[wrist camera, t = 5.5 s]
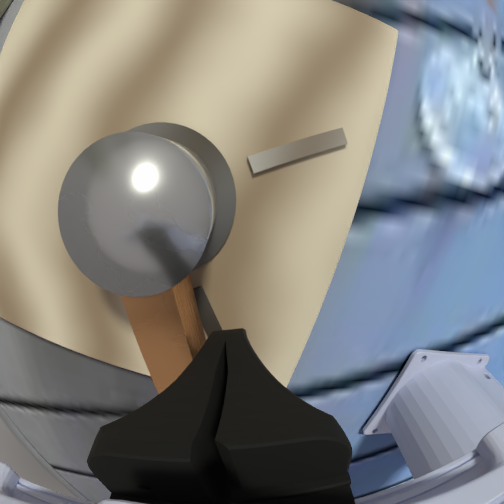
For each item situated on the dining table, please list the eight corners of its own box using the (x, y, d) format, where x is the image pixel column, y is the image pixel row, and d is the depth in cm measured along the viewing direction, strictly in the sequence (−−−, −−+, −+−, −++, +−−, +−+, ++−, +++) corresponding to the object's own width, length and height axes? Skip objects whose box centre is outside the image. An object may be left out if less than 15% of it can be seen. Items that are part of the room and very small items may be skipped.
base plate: (385, 40, 11) (400, 29, 9) (276, 384, 16) (279, 403, 15) (44, -6, 8) (30, -16, 7) (-10, 295, 14) (-24, 306, 12)
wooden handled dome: (89, 156, 10) (46, 157, 7) (207, 127, 10) (195, 113, 7) (152, 379, 14) (138, 424, 11) (249, 371, 14) (252, 419, 11)
